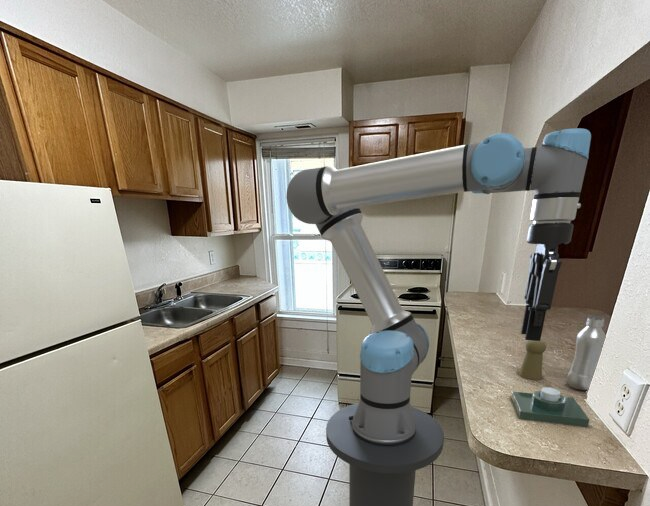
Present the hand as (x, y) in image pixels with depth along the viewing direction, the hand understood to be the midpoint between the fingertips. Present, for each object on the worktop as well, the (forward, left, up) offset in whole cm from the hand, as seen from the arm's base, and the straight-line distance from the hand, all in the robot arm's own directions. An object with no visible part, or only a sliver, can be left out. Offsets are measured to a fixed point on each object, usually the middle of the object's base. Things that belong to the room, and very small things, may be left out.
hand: (530, 336), depth 77 cm
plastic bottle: (+20, +23, -21) cm, 37 cm away
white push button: (+8, +6, -17) cm, 20 cm away
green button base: (+8, +6, -21) cm, 23 cm away
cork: (+9, +29, -21) cm, 37 cm away
